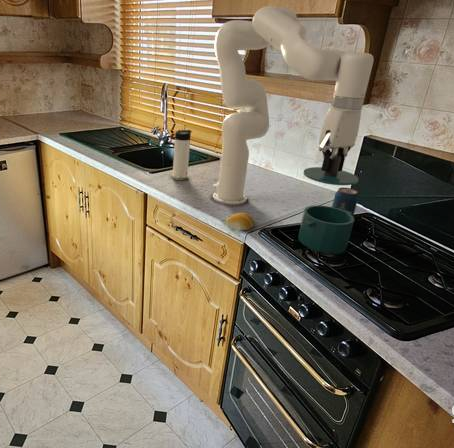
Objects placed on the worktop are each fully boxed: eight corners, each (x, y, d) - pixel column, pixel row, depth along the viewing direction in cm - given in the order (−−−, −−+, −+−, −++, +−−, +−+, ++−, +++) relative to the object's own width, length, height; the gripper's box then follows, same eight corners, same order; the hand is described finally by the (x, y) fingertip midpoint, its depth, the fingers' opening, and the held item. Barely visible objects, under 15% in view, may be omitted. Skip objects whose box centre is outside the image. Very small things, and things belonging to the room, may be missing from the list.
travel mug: (190, 179, 169) (194, 132, 160) (175, 180, 167) (179, 132, 158) (184, 175, 174) (188, 128, 165) (170, 176, 172) (173, 129, 163)
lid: (292, 174, 117) (296, 151, 114) (325, 168, 124) (330, 147, 121) (334, 190, 105) (340, 165, 103) (368, 183, 112) (375, 159, 109)
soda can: (344, 220, 138) (353, 187, 132) (354, 229, 131) (363, 194, 126) (324, 219, 137) (332, 186, 132) (333, 228, 131) (342, 194, 126)
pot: (282, 240, 122) (287, 211, 118) (324, 228, 131) (331, 201, 127) (318, 260, 111) (326, 229, 107) (361, 246, 120) (370, 217, 116)
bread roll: (257, 224, 131) (258, 213, 129) (245, 234, 124) (247, 222, 123) (234, 217, 135) (235, 206, 133) (221, 226, 128) (222, 214, 127)
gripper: (354, 100, 113) (339, 164, 120) (314, 102, 105) (300, 170, 113) (379, 104, 107) (361, 171, 115) (338, 107, 99) (322, 178, 107)
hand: (331, 170), depth 113 cm, fingers closed on lid, 3 cm apart
